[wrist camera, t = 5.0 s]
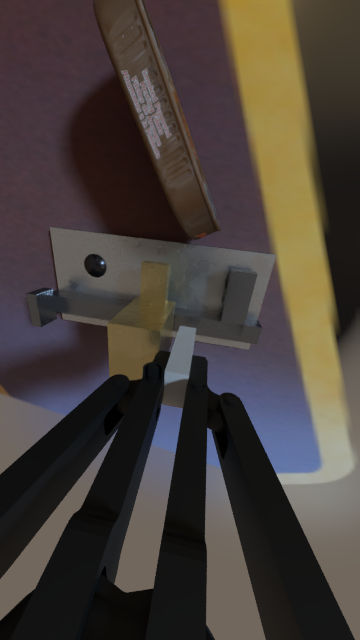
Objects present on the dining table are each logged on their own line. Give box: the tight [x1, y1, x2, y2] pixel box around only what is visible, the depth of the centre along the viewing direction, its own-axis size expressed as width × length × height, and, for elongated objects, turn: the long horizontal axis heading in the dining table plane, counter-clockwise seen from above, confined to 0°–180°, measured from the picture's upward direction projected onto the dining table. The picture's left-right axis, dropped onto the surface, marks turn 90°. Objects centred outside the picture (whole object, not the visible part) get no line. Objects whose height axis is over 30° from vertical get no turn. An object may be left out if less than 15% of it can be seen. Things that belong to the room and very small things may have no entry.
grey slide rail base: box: [26, 268, 262, 344], centre depth 21 cm, size 8×24×5 cm, turn 83°
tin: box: [93, 0, 221, 240], centre depth 15 cm, size 15×3×8 cm, turn 23°
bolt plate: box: [50, 227, 276, 350], centre depth 24 cm, size 11×24×1 cm, turn 84°
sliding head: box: [107, 260, 176, 380], centre depth 19 cm, size 9×4×9 cm, turn 173°
